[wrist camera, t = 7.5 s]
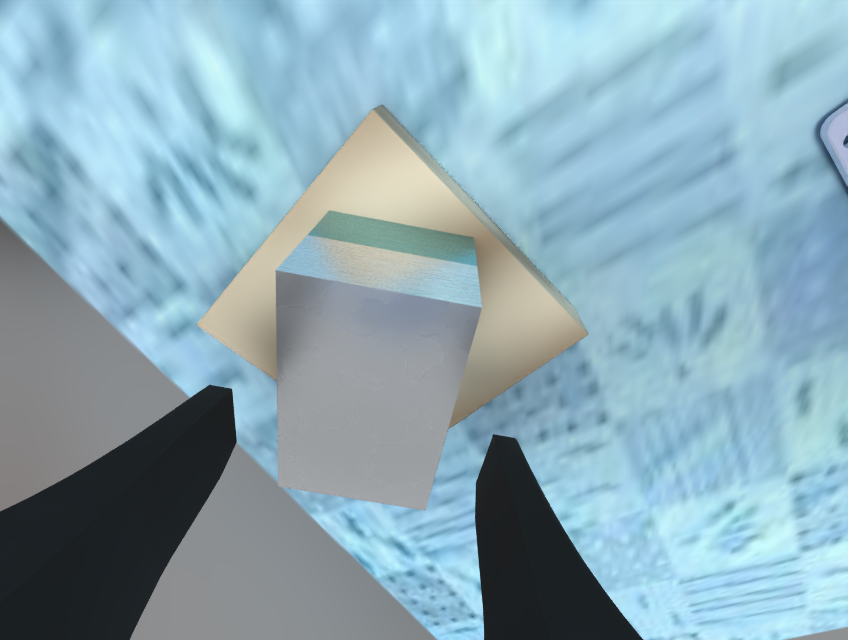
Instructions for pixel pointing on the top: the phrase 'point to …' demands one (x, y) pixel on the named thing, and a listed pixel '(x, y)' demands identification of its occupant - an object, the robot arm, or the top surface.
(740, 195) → the top surface
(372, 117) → the stand
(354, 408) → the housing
